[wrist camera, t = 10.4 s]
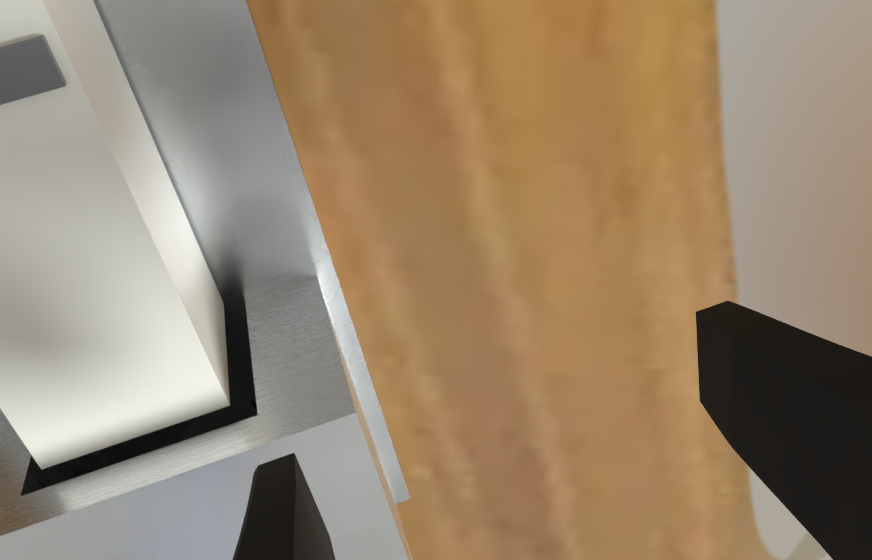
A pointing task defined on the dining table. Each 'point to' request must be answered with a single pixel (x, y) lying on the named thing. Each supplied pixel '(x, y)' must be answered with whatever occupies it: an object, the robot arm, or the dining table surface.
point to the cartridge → (93, 250)
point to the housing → (244, 326)
